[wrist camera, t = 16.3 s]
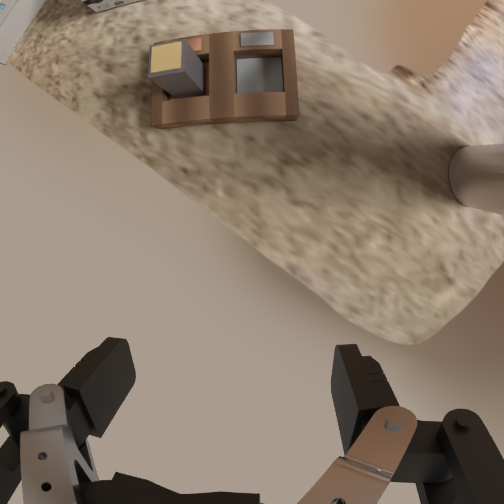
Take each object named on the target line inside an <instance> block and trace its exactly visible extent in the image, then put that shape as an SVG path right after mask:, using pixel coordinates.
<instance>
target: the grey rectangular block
mask: <svg viewBox="0 0 504 504" xmlns="http://www.w3.org/2000/svg"><path fill="white" fill-rule="evenodd" d="M148 78H149V79H150V80H152V81H153V82H155V83H156V84H157V85H159V86H160V87H162V88H163V89H164V90H166V91H167V92H168V93H170V94H171V95H173V96H174V97H175V98H177V99H178V98H185V97H193V96H202V95H206V68H205V66H204V65H203V63H202V62H201V60H200V59H199V57H198V56H197V54H196V53H195V51H194V50H193V49H192V47H191V46H190V44H189V43H188V41H187V40H186V39H181V40H175V41H170V42H165V43H160V44H155V45H150V48H149V66H148Z"/></svg>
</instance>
